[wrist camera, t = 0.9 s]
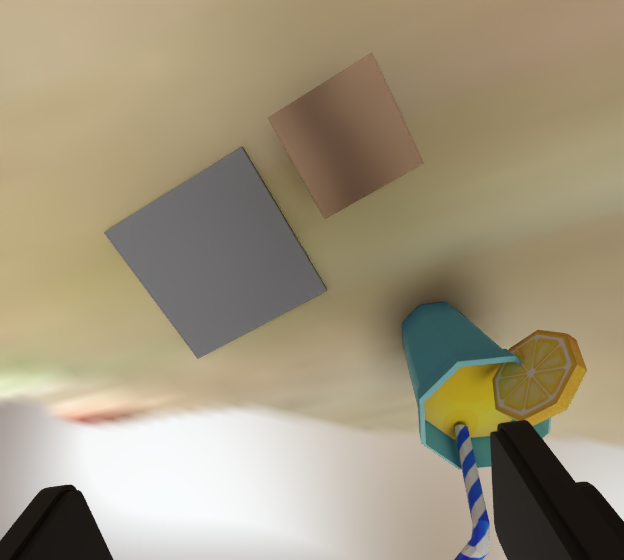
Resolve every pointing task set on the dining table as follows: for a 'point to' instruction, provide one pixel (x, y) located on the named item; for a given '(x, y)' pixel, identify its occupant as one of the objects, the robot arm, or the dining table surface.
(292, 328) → the dining table surface
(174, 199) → the mat
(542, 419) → the cup
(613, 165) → the dining table surface
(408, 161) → the brown box with pegs
